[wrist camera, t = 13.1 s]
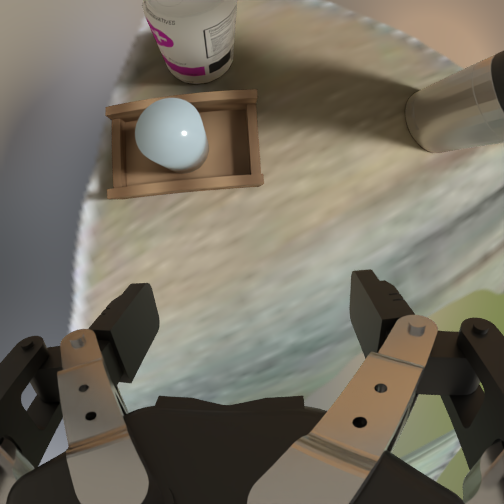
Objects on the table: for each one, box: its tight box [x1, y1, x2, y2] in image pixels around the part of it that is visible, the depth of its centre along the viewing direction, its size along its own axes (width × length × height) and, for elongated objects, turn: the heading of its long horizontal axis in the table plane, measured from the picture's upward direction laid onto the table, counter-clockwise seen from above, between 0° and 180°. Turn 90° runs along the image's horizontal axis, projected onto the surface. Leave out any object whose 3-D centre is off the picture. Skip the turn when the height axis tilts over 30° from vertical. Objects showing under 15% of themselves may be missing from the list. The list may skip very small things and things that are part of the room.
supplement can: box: [142, 0, 237, 84], centre depth 25 cm, size 8×8×15 cm
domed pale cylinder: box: [135, 98, 209, 174], centre depth 28 cm, size 6×6×10 cm
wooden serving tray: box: [105, 89, 264, 199], centre depth 31 cm, size 16×10×5 cm, turn 94°
